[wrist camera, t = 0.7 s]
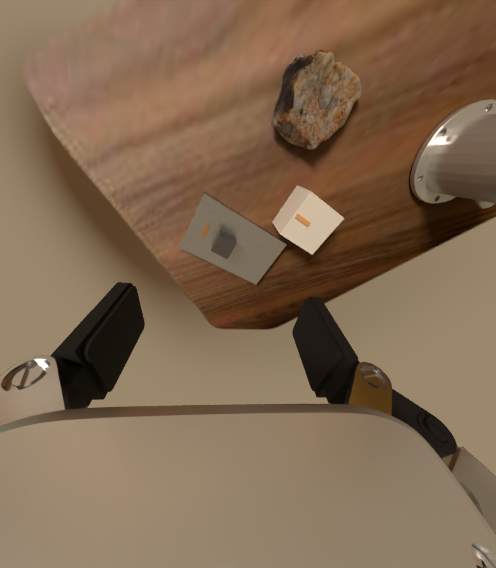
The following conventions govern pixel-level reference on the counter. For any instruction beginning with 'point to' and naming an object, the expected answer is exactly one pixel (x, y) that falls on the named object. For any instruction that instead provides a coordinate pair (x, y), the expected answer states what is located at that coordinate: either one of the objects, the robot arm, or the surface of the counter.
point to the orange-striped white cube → (306, 220)
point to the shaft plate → (246, 241)
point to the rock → (314, 99)
